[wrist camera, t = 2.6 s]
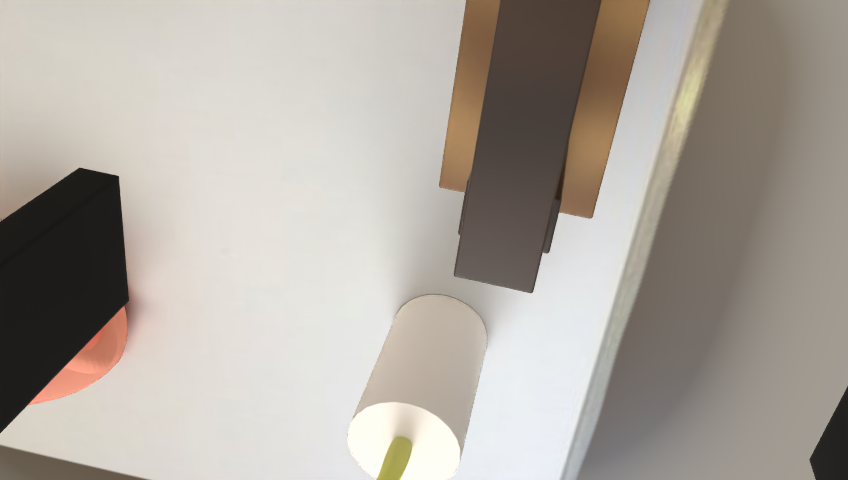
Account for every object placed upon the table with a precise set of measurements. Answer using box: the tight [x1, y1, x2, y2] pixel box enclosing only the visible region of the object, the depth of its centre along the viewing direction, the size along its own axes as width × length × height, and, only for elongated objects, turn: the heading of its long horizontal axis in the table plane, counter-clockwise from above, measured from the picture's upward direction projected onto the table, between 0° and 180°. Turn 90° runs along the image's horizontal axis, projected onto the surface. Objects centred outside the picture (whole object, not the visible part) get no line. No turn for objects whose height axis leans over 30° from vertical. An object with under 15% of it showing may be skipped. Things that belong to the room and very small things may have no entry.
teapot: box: [28, 306, 127, 405], centre depth 53 cm, size 12×18×10 cm
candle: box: [347, 294, 487, 480], centre depth 45 cm, size 6×6×15 cm
